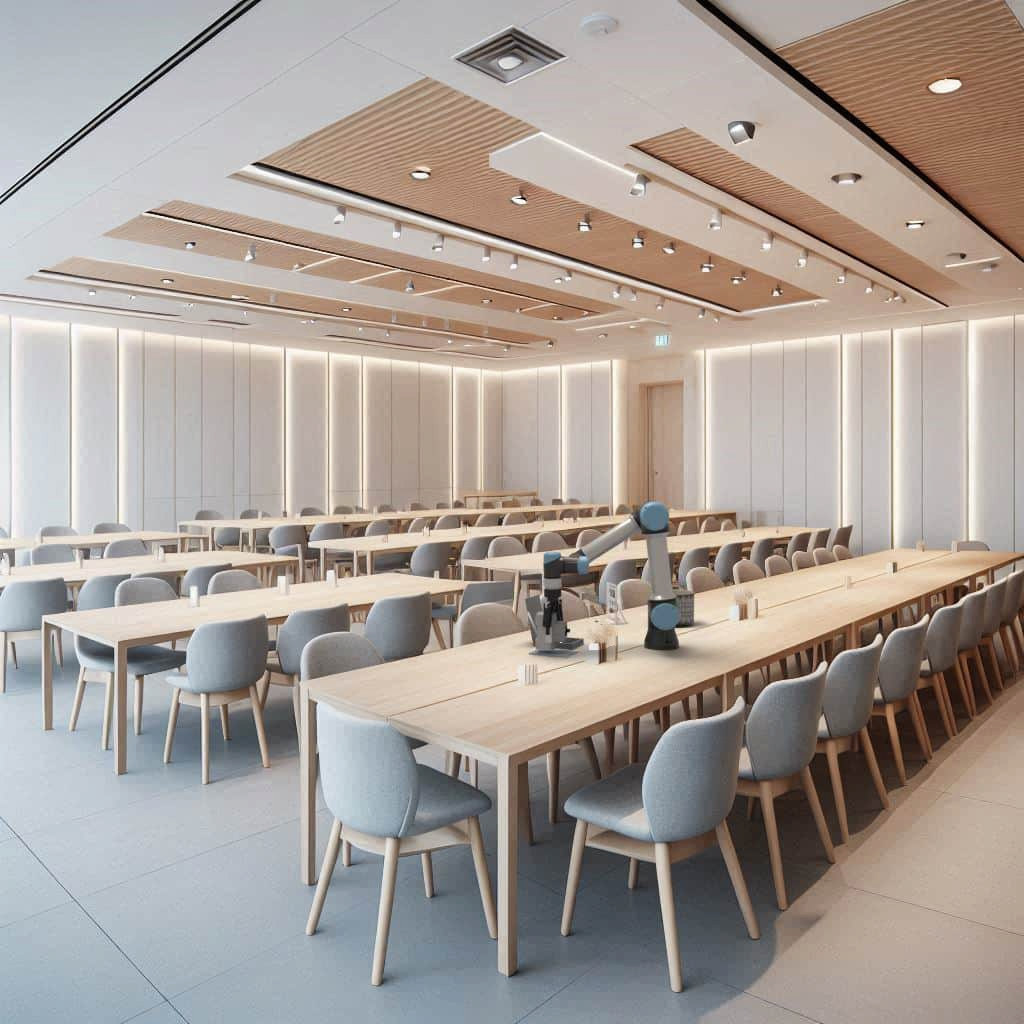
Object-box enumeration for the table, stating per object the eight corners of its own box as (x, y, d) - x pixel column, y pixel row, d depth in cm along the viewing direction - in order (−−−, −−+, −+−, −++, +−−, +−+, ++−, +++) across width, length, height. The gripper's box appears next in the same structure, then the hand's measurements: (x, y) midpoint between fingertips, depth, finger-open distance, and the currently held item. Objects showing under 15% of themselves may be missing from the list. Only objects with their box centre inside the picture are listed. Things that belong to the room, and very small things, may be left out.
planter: (649, 626, 424) (649, 593, 424) (664, 620, 441) (663, 588, 440) (686, 629, 414) (686, 595, 413) (700, 623, 431) (699, 590, 430)
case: (583, 644, 384) (583, 597, 383) (571, 650, 372) (570, 601, 371) (538, 640, 395) (537, 594, 394) (524, 645, 382) (524, 598, 381)
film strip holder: (593, 620, 442) (592, 582, 441) (618, 619, 446) (617, 581, 445) (602, 625, 428) (602, 586, 428) (628, 624, 432) (628, 584, 431)
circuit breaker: (568, 650, 361) (568, 615, 360) (535, 649, 364) (535, 614, 363) (571, 646, 368) (570, 612, 368) (538, 645, 371) (538, 611, 371)
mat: (578, 652, 367) (578, 651, 367) (567, 657, 357) (567, 656, 357) (540, 648, 376) (540, 647, 376) (528, 654, 365) (528, 653, 365)
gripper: (555, 584, 376) (555, 635, 377) (533, 590, 357) (534, 644, 358) (570, 585, 373) (571, 636, 374) (549, 591, 354) (550, 645, 355)
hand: (553, 640), depth 366 cm, fingers closed on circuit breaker, 9 cm apart
